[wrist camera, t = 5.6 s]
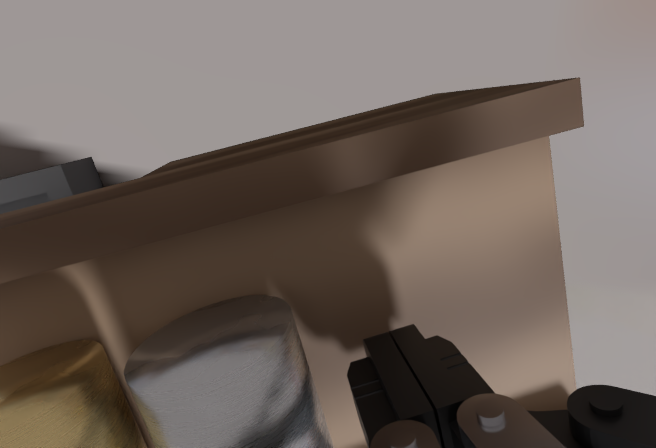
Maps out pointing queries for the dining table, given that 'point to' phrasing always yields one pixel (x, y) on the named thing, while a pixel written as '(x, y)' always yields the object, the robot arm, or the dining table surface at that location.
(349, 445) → the brown open channel
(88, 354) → the brass slug
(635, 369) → the dining table surface
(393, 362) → the robot arm
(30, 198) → the grey tray
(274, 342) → the steel slug
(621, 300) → the dining table surface
